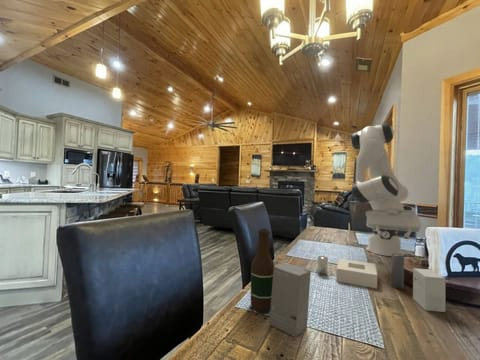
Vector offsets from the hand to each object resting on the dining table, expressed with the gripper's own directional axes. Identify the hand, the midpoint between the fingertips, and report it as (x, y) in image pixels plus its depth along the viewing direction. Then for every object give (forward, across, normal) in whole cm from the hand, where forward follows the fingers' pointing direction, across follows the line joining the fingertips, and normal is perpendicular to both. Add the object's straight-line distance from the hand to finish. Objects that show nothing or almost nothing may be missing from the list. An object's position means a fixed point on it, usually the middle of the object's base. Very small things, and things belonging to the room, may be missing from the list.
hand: (393, 236), depth 104 cm
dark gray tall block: (+20, 0, +4) cm, 20 cm away
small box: (+28, +7, -5) cm, 30 cm away
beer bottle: (+47, -39, -24) cm, 66 cm away
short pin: (+20, -27, +3) cm, 34 cm away
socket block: (+19, -14, +4) cm, 24 cm away
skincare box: (+51, -29, -28) cm, 65 cm away
